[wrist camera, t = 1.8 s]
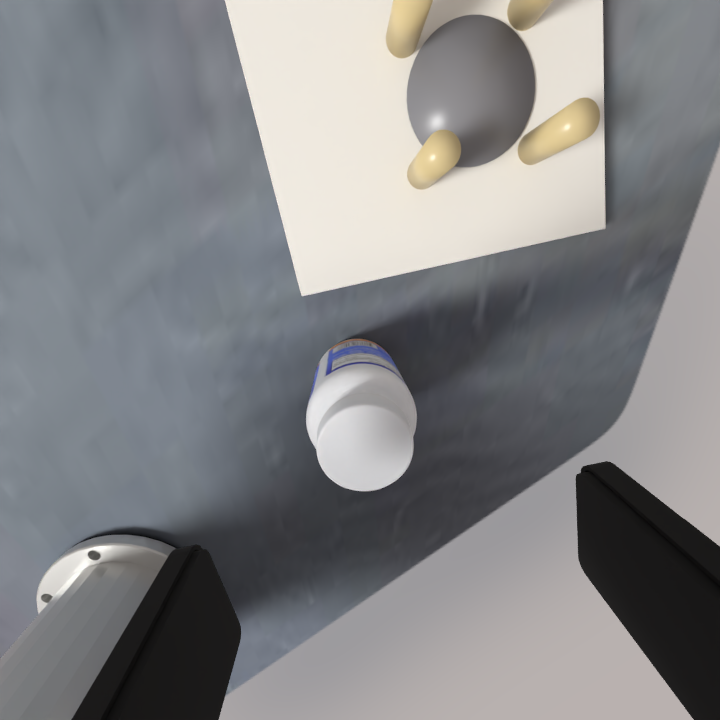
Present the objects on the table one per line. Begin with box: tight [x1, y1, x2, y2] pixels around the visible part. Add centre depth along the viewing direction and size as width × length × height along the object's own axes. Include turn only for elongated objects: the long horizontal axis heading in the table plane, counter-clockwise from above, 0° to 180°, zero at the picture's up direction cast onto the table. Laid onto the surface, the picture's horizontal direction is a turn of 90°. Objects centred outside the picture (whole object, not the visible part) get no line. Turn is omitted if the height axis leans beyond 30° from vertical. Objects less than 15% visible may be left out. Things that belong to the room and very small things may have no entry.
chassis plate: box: [225, 0, 605, 296], centre depth 17 cm, size 16×18×6 cm
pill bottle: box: [306, 339, 417, 491], centre depth 19 cm, size 5×5×10 cm
